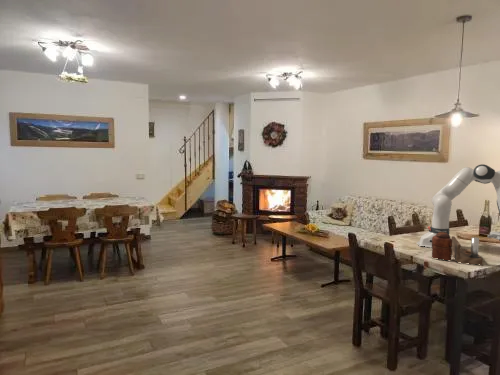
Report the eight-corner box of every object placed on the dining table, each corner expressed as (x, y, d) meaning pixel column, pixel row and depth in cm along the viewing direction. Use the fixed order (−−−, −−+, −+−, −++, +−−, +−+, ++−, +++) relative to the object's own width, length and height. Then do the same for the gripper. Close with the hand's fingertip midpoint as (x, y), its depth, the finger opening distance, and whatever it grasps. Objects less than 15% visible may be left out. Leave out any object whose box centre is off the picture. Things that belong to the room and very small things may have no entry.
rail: (456, 263, 225) (457, 244, 224) (450, 253, 247) (451, 236, 246) (482, 265, 220) (483, 246, 219) (473, 255, 242) (474, 237, 241)
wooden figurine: (451, 259, 233) (453, 232, 231) (451, 262, 227) (452, 234, 226) (431, 256, 239) (432, 230, 237) (430, 259, 234) (431, 232, 232)
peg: (471, 257, 223) (472, 238, 222) (469, 255, 227) (470, 237, 225) (478, 257, 221) (479, 239, 220) (477, 256, 225) (478, 237, 224)
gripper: (501, 228, 235) (482, 229, 234) (528, 235, 215) (507, 236, 214) (501, 238, 236) (481, 239, 235) (528, 245, 216) (507, 247, 214)
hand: (494, 238), depth 224 cm, fingers open, 8 cm apart
